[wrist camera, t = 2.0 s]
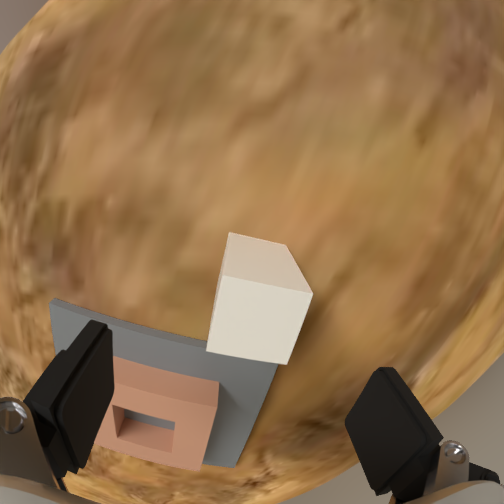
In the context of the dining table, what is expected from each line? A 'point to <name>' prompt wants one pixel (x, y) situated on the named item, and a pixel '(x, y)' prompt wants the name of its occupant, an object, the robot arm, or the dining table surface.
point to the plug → (258, 301)
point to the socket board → (186, 361)
